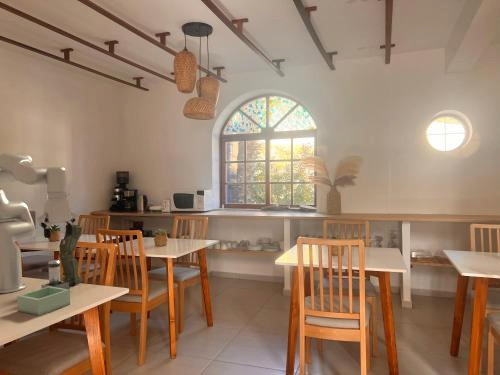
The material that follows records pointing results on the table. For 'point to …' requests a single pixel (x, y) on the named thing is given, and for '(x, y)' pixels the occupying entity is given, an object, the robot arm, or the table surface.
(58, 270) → the strut
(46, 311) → the bin
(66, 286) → the socket block
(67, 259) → the mechanical leg
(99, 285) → the table surface
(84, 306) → the table surface
